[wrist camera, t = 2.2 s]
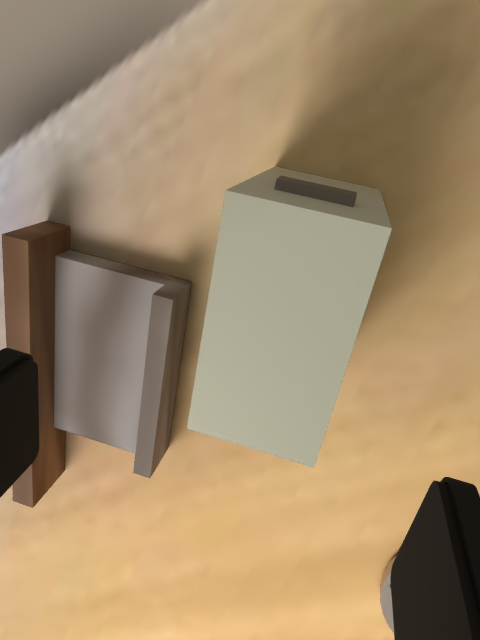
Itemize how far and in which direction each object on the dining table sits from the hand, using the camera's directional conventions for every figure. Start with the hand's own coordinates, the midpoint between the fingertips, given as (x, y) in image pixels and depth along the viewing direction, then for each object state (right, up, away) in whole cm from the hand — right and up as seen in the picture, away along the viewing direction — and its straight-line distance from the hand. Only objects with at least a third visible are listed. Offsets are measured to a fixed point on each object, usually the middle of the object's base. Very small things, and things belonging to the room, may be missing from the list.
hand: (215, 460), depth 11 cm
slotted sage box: (+4, +6, +15) cm, 17 cm away
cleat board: (-9, -1, +21) cm, 23 cm away
